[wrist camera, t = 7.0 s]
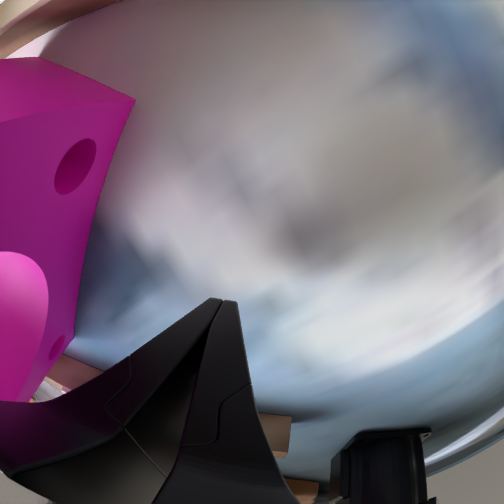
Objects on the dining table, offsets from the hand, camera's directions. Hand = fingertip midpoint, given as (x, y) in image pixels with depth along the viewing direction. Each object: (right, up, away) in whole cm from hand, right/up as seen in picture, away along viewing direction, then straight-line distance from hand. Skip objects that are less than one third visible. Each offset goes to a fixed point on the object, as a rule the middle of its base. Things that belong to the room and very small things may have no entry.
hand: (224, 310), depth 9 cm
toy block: (-9, +3, +3) cm, 10 cm away
